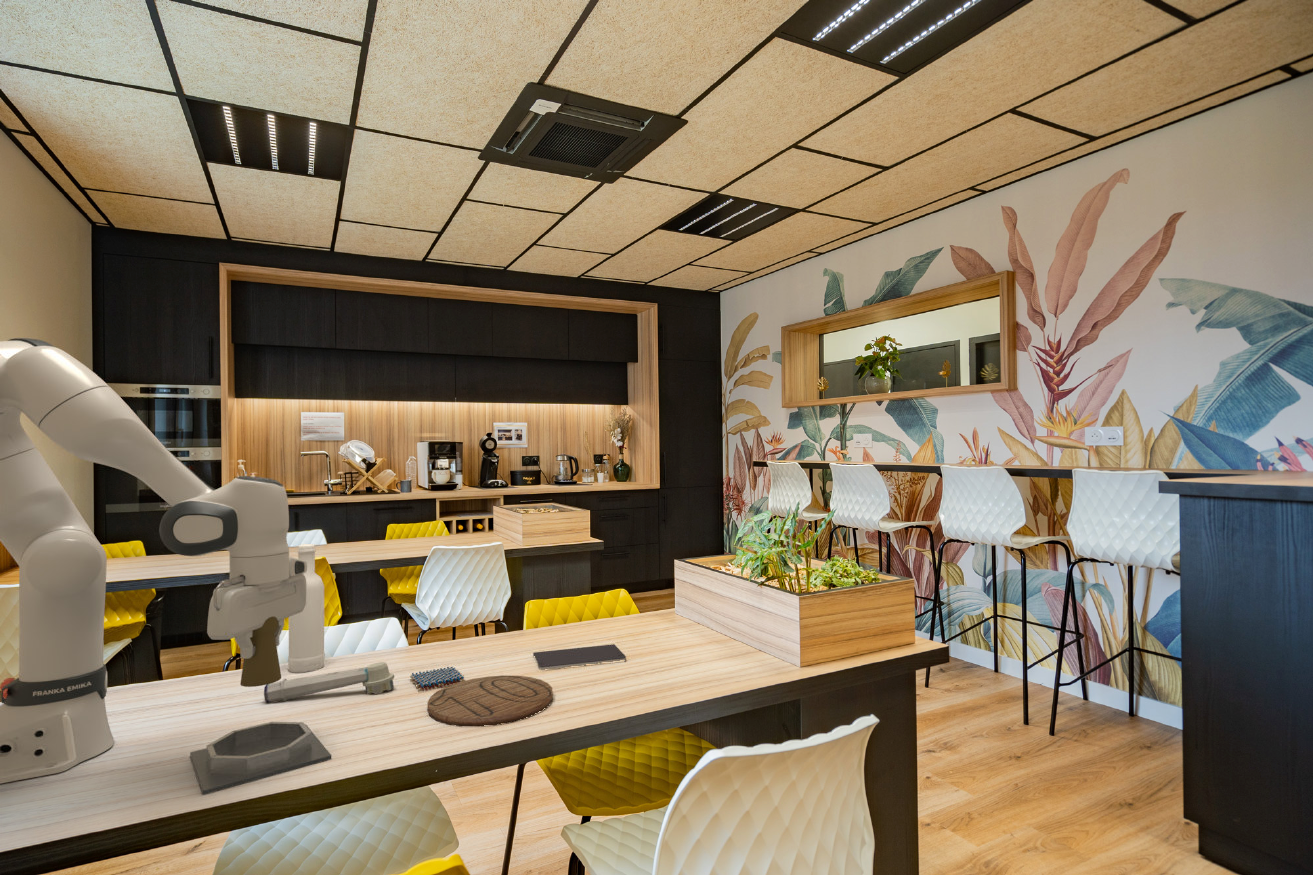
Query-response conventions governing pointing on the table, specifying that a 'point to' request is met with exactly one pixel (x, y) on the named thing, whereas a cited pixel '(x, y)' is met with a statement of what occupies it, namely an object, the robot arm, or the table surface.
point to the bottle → (308, 620)
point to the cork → (262, 657)
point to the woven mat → (436, 678)
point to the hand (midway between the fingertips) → (260, 652)
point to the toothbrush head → (331, 683)
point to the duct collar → (256, 754)
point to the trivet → (489, 700)
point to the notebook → (578, 656)
